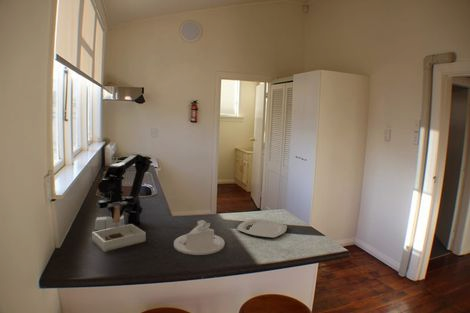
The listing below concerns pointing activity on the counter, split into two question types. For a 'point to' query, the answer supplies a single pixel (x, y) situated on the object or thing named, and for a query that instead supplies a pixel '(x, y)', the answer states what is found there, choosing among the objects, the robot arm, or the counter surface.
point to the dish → (199, 241)
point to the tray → (130, 233)
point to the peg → (116, 214)
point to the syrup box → (107, 223)
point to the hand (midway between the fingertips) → (116, 217)
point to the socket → (113, 236)
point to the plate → (263, 228)
